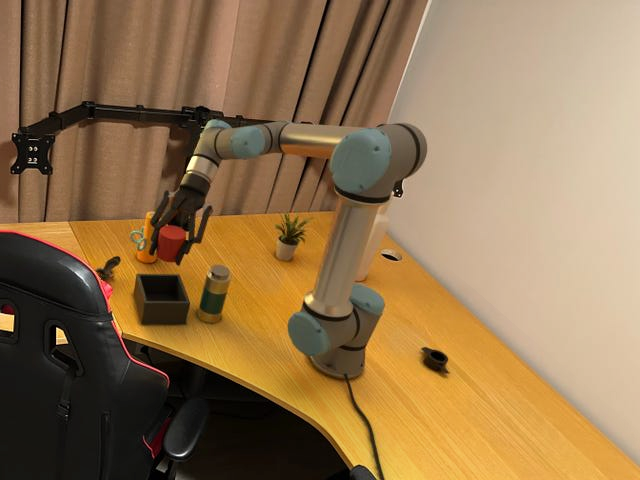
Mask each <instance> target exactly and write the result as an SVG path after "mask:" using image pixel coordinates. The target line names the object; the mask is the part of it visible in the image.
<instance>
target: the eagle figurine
mask: <svg viewBox="0 0 640 480" xmlns="http://www.w3.org/2000/svg"><path fill="white" fill-rule="evenodd" d="M121 261H122V258H121V257H120V255H115V256H113V257H111V258H109V259H107V261H106V262H105V264H104V266H102V267H98V268H96V269H94V270H95V271H96V272H97V273H96V274H99V275H100V276H101V277H100V278H101V279H102V280H103V281H105V282H107V280H109V279H111V280H112V281H114V277H116V276H115V274H113V275H112V273H111V272H113V271H114V270H113V269H115V267H117V266H119V265H120V264H121ZM101 279H100V280H101ZM102 280H101V281H102Z"/></svg>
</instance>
